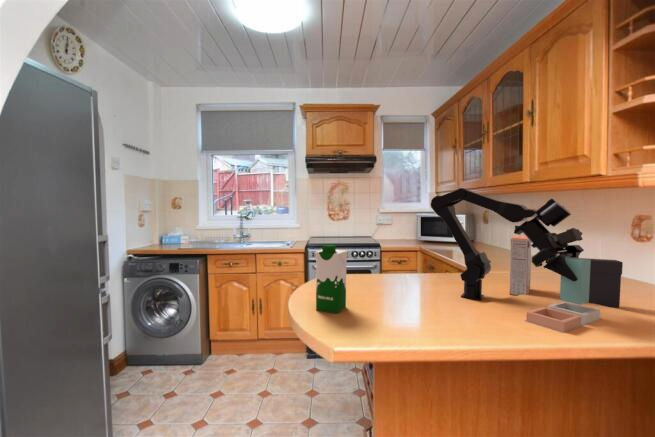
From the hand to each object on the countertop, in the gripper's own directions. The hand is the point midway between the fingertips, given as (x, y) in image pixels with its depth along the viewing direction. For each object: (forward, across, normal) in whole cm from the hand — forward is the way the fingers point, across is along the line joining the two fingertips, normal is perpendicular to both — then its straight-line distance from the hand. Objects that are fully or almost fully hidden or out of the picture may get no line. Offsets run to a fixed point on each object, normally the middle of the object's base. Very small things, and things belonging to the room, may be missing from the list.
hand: (580, 279), depth 90 cm
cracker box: (-10, +17, +27) cm, 33 cm away
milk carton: (-22, -56, +39) cm, 71 cm away
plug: (+4, 0, +6) cm, 7 cm away
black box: (+5, +23, +12) cm, 27 cm away
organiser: (+7, -6, +9) cm, 13 cm away
